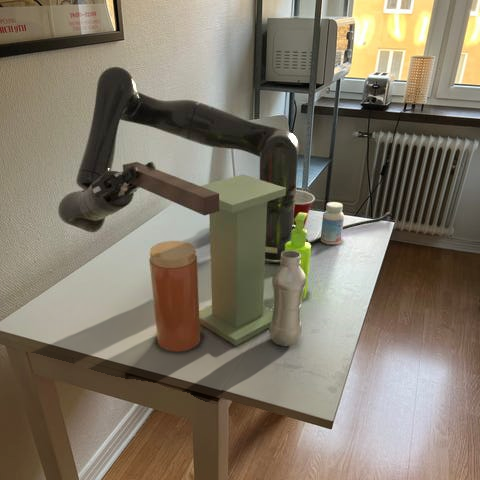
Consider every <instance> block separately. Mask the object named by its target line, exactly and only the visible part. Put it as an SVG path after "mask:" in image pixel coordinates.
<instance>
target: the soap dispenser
mask: <svg viewBox="0 0 480 480" xmlns="http://www.w3.org/2000/svg"><path fill="white" fill-rule="evenodd" d="M307 215H308V216H309V213H302V212H299V213H298V214H297V216H296V218H295V222H296V228H295V229H293V230H292V233H291V241H289V242H287V243H286V244H285V251H287V250H293V251H297V252H299V253H300V255H301V258H300V260H301V264H300V265H299V266H300V267H301V269H302V270H303V272H304V273H305V276H306V285H305V289H304V292H303V296H302V301H303V300H304V299H306V298H307V293H308V282H309V270H310V261H311V249H312V244H309V243H307V242H306V238H307V232H308V231H307V230H306V229H305V228H304V229H303V224H304V220H305V218H306V216H307Z"/></svg>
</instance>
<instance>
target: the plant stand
mask: <svg viewBox="0 0 480 480" xmlns="http://www.w3.org/2000/svg"><path fill="white" fill-rule="evenodd" d="M200 186H201V187H204V188H206V189H209V190H211V191H214V192H217V193H219V211H218V212H215V213H211V214H208V215H209V248H210V249H209V251H210V280H211V281H210V283H211V285H210V286H211V287H210V288H211V305H208V306H207V307H204V308H202V309H199V315H200V325H202V326H204V327H205V328H207V329H208V330H210V331H211V332H213V333H215V334H216V335H218V336H219V337H221V338H222V339H223V340H225V341H227V342H229V343H230V344H232V345H233V346H238V345H241V344H242V343H243V342H245V341H247V340H250V339H251V338H253V337H255V336H257V335H258V334H260V333H262V332H264V331H266V330H269V328H270V323H271V320H272V315H273V310H272V309H270V308H269V307H267V306H265V305H264V289H265V265H266V262H265V242H266V216H267V201H270V200H273V199H276V198H279V197H282V196H285V195H286V188H284V187H281V186H278V185H275V184H272V183H268V182H265V181H262V180H259V178H255V177H252V176H249V175H246V174H239V175H235V176H231V177H228V178H224V179H221V180H220V179H219V180H217V181H213V182H210V183H206V184H202V185H200Z"/></svg>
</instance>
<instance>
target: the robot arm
mask: <svg viewBox="0 0 480 480" xmlns="http://www.w3.org/2000/svg"><path fill="white" fill-rule="evenodd" d="M137 89H138V88H137V85H136V83H135V80H134V78H133V76H132V75H131V73H130V72H129V71H128V70H126V69H125V68H123V67H119V66H111V67H108V68H106V69H105V70H104V71H102V72H101V74H100V75H99V76H98V80H97V84H96V90H95V91H96V92H95V101H94V109H93V114H92V119H91V125H90V129H89V133H88V137H87V141H86V145H85V149H84V151H83V155H82V159H81V162H80V165H79V168H78V171H77V175H76V179H75V182H76V185H77V186H78V187H79V188H80V189H81V190H76V191H72V192H69V193H68V194H66V195H65V196H64V197H63V198H62V199H61V200H60V202H59V203H58V208H57V213H58V216H59V218H60V220H61V221H62V222H64V223H65V224H67V225H70V226H73V227H75V228H77V229H80V230H83V231H85V232H88V233H92V234H93V233H97V232H98V231H100V230H102V228H103V226H104V224H105V220H106V218H107V217H109V216H111V215H113V214H115V213H117V212H119V211H120V210H123V209H124V208H126V207H127V206H128V205H130V204H131V202H132V201H133V198H134V195H135V193H136V192H138V190H139V189H141V188H140V187H138V186H136V185H133V184H131V182H133V181H134V180H136V179H137V178H138V177H139V174H138V172H137V169H136V166H131V167H129V168H128V169H127V170H126V171H124V172H123V171H118V170H112V169H113V165H114V159H115V151H116V143H117V135H118V130H119V124H120V122H121V121H123V122H127V123H132V124H138V125H140V126H141V125H142V126H146V127H150V128H153V129H157V130H159V131H162V132H164V133H167V134H171V135H174V136H177V137H179V138H183V139H184V140H187V141H190V142H193V143H197V144H200V145H202V146H206V147H210V148H216V149H217V148H218V149H227V150H239V151H243V152H246V153H249V154H251V155H253V156H257V157H259V177H258V179H259V180H262V181H265V182H268V183H272V184H275V185H278V186H281V187H284V188H286V195H285V196H282V197H279V198H276V199H273V200H270V201H267V216H266V242H265V263H268V264H280V259H281V253H282V252H283V251H285V244H286V243H287V242H289V241H291V233H292V230H293V229H295V228H296V226H295V225H294V224H293V221H294V206H295V193H296V190H297V173H298V159H299V153H300V144H299V141H298V139H297V137H296V136H295V135H294V134H293V133H292V132H291V131H289V130H287V129H283V128H278V127H273V126H269V125H264V124H260V123H256V122H252V121H249V120H246V119H245V118H242V117H240V116H237V115H236V114H232V113H230V112H228V111H224V110H222V109H219V108H216V107H214V106H212V105H208V104H206V103H203V102H199V101H196V100H192V99H176V100H175V99H173V100H162V99H157V98H154V97H151V96H149V95H146V94H145V93H141V92H139V91H138V90H137ZM145 165H146V166H149V167H151V168H154V169H157V167H156V165H155V163H154V162H153V161H151V162H147V163H146V164H145ZM387 217H390V218H391V217H393V216H392V214H391V213H390V212H386V213H384V215H383V216H381V217H379V218H374V219H369V220H363V221H358V222H354V223H350V224H346V225H343V229H342V231H343V230H347V229H350V228H354V227H358V226H363V225H369V224H373V223H379V222H381V221H383V220H385V219H386V218H387ZM306 242H307V243H309V244H310V245H313V244H316V243H319V242H321V236H319V237H318V238H315V239H313V240H309V239H308V238H307V237H306Z"/></svg>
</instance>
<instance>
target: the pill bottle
mask: <svg viewBox="0 0 480 480" xmlns="http://www.w3.org/2000/svg"><path fill="white" fill-rule="evenodd" d="M343 206H344V205H343V203H341V202H336V201H331V202H327V203H326V205H325V208H326V210H325V211H323V213H322V220H321V221H322V222H321V229H320V230H321V231H320V237H321V240H320V242H322V243H323V244H326V245H339V244H340V243H341V242H342V237H343V230H342V229H343V226H344V222H345V221H344V219H345V214H344V212H343V210H344V209H343V208H344V207H343Z"/></svg>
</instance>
